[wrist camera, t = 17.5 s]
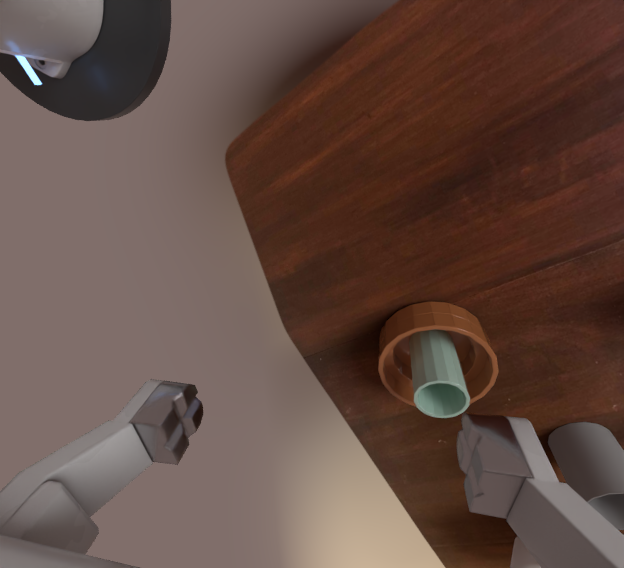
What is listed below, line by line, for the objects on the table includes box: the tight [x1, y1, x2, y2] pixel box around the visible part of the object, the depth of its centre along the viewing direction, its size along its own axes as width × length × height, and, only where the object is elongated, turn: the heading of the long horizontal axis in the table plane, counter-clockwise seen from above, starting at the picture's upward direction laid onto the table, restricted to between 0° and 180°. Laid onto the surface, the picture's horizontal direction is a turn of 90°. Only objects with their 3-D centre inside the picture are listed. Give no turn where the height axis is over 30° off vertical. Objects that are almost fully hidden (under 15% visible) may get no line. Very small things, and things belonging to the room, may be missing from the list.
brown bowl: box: [378, 301, 498, 407], centre depth 43 cm, size 14×14×6 cm
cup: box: [548, 422, 624, 530], centre depth 44 cm, size 8×8×10 cm
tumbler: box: [409, 329, 470, 418], centre depth 40 cm, size 6×6×10 cm
